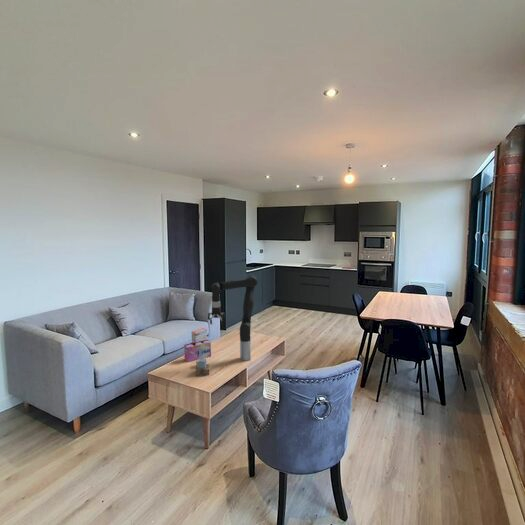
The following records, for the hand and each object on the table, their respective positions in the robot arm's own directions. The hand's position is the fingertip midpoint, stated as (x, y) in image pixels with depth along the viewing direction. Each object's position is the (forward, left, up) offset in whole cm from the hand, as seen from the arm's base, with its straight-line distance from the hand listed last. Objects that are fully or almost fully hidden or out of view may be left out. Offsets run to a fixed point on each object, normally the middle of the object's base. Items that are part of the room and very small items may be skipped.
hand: (216, 324), depth 277 cm
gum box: (+18, -6, -33) cm, 38 cm away
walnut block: (+8, +23, -34) cm, 42 cm away
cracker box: (+19, -21, -33) cm, 44 cm away
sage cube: (+13, +11, -33) cm, 37 cm away
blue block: (+8, +23, -28) cm, 38 cm away
